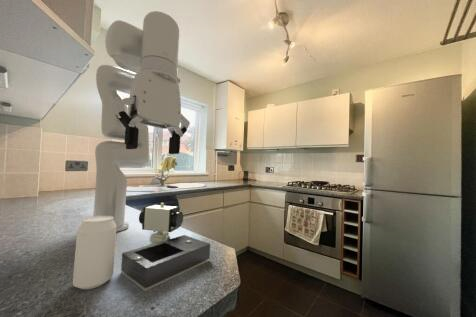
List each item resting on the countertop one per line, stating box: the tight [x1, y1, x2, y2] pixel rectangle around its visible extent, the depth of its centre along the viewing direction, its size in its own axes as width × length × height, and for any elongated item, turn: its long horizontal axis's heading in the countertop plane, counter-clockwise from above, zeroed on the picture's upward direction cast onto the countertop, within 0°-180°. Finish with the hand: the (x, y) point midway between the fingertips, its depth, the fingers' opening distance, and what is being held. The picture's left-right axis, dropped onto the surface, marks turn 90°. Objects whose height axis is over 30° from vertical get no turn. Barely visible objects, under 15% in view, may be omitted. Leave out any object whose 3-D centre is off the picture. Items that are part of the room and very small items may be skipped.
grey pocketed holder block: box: [120, 234, 211, 292], centre depth 44 cm, size 10×16×4 cm, turn 143°
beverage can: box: [72, 216, 117, 290], centre depth 38 cm, size 6×6×12 cm
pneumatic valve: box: [138, 202, 184, 245], centre depth 57 cm, size 6×12×12 cm, turn 78°
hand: (154, 151), depth 42 cm, fingers open, 9 cm apart
